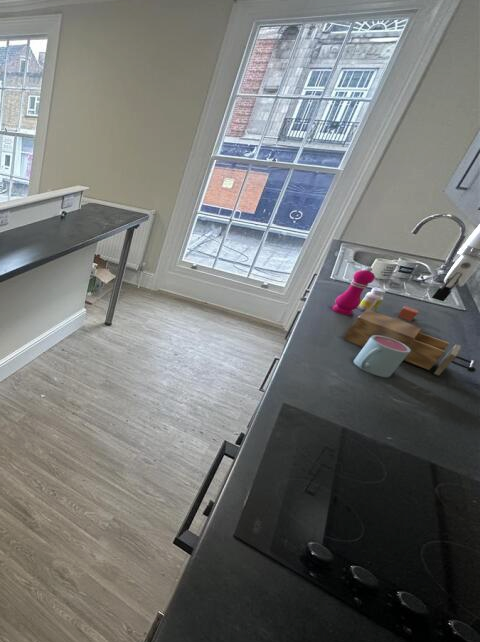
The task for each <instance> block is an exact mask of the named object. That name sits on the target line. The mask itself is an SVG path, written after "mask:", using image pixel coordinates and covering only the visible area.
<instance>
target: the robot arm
mask: <svg viewBox="0 0 480 642" xmlns="http://www.w3.org/2000/svg"><path fill="white" fill-rule="evenodd" d="M456 254H458V255H459V257H458V258H457V260H456V261H455V262H454V264H452V266H451V268H450V269H449V270H448V272H447V274H446V275H445V277H444V279H443V284H442V285H441V286H440V287H438V289H437V290H436V291H435V293H433V295H432V296H431V298H432V299H434V300H437V301H440V302H444V301H445V300H446V299H447V298H448V297H449V295H450V294H451V293H452V290H453V289H454V288H455V287H457V285H458V286H459V287H463V286H464V285H466V282H467V281H468V280H469V278H470V277H471V276H472V275H473V274H474V273H475V271H477V269H478V268H479V267H480V224H478V226H477V227H476V228H475V229H474V231H472V234H470V236H469V237H468V238H467V240H466V241H465V242H464V243H463V245H462V246H461V247H460V248H459V249H458V251H457V252H456Z"/></svg>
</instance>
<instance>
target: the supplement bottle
mask: <svg viewBox="0 0 480 642" xmlns="http://www.w3.org/2000/svg"><path fill="white" fill-rule="evenodd" d="M386 293H387V291H386V290H384V289H382V288H379V287H372V289H371V290H370V291H369V292H367V293H366V294H365V296H364V297H363V299H362V300H361V301H360V304H359V306H358V309H359V310H360V311H363V312H365V311H366V310H367V309H369V310H371V311H374V312H376V311H377V309H378V308H379V306H380V305H381V303H382V302H383V301H384V295H385V294H386Z"/></svg>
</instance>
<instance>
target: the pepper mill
mask: <svg viewBox="0 0 480 642" xmlns="http://www.w3.org/2000/svg"><path fill="white" fill-rule="evenodd" d="M372 271H373V268H372V267H370V266H369V267H366V268H365V269H362V270H361V269H360V270H357V271H356V272H354V274H353V276H352V278H353V279H352V280H351V281H350V286H349V287H348V288H347V290H345V291H344V292H343V293H342V294H340V295H339V296H337V297H336V298H335V300H334V302H335V304H334V305H333V306H332V308H331V309H332V310H333V311H334V312H336V313H338V314H341V315H346V316H351V315H352V314H353V311H354V310H356V309H357V308H358V306H359V305H360V303H361V295H362V293H363V291H364V290H365V289H367V287H368V286H369V284H371V283H373V282H374V281H375V277H376V275H375V274H374V272H372ZM358 309H359V308H358Z"/></svg>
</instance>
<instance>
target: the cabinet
mask: <svg viewBox="0 0 480 642" xmlns="http://www.w3.org/2000/svg"><path fill="white" fill-rule="evenodd" d="M421 330H422V327H420V326H418V325H414V324H412V323H408V322H405V321H402V320H401V319H400V320H399V319H397V318H394V317H392V316H388V315H386V314H383V313H381V312H380V313H379V312H376V311H375V312H374V311H371V310H369V309H367V310H366V311H363V312H362V313H361V314H360V315H359V316H357V318H356V319H355V321H354V322H353V324H352V326H351V327H350V328H349V329H348V331H347V333H345V336H344V337H343V340H344V341H347V342H350V343H352V344H355V345H357V346H359V347H361V348H363V347H364V346H365V345H366V343H367V342H368V340H369V339H370V338H371V336H373V335H380V336H385V337H388V338H391V339H394V340H397V341H399V342H401V343H403V344H405V345H406V346H408V345H409V344H410V343H411V341H412V340H413V339H414V338H415V336H416V335H417V334H418V332H420V331H421Z"/></svg>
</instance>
